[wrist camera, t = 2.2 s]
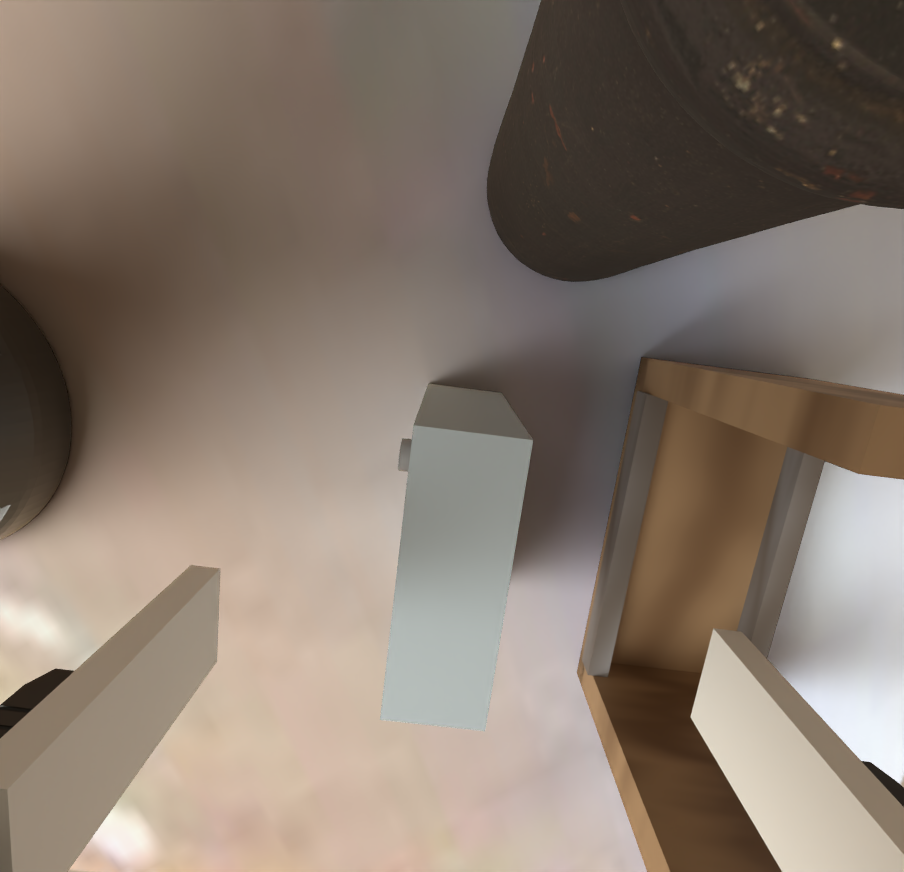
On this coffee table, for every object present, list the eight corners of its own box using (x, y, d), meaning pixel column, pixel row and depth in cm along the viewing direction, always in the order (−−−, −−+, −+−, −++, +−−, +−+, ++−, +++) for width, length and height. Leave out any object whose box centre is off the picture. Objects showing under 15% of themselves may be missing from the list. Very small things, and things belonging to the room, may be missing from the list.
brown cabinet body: (572, 672, 28) (685, 1004, 15) (636, 356, 25) (868, 403, 11) (726, 689, 28) (980, 1032, 15) (812, 379, 25) (1256, 453, 11)
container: (706, 248, 23) (1959, -100, 4) (516, 319, 24) (789, 325, 5) (654, 42, 22) (2443, -2400, 2) (451, 126, 22) (450, -1177, 3)
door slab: (395, 573, 27) (363, 718, 17) (417, 382, 25) (394, 422, 15) (473, 582, 27) (485, 731, 17) (501, 392, 25) (533, 440, 15)
